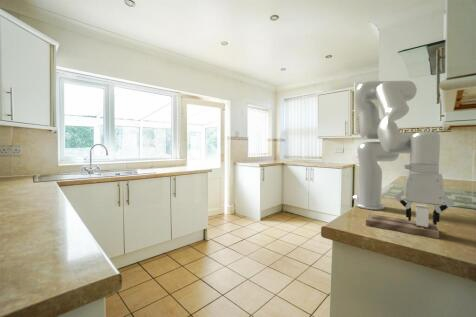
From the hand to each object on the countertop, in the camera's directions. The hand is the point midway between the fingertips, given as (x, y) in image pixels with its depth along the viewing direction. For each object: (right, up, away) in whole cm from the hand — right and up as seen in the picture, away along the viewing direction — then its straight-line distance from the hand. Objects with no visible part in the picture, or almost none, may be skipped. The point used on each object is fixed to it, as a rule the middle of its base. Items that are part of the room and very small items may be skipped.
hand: (421, 221), depth 75 cm
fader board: (-5, -3, +4) cm, 7 cm away
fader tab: (0, -1, 0) cm, 1 cm away
